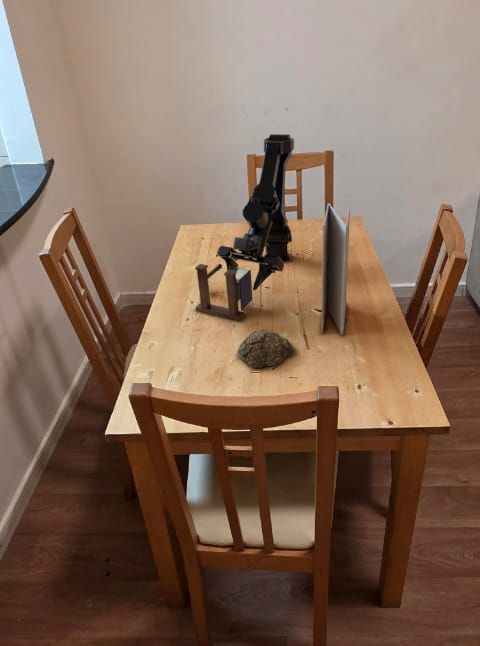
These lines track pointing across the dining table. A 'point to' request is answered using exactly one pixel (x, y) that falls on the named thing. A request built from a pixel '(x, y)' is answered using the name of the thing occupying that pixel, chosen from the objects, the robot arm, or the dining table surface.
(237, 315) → the peg stand
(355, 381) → the dining table surface
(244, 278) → the book
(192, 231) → the dining table surface
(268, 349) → the grey brown rock
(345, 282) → the brochure
